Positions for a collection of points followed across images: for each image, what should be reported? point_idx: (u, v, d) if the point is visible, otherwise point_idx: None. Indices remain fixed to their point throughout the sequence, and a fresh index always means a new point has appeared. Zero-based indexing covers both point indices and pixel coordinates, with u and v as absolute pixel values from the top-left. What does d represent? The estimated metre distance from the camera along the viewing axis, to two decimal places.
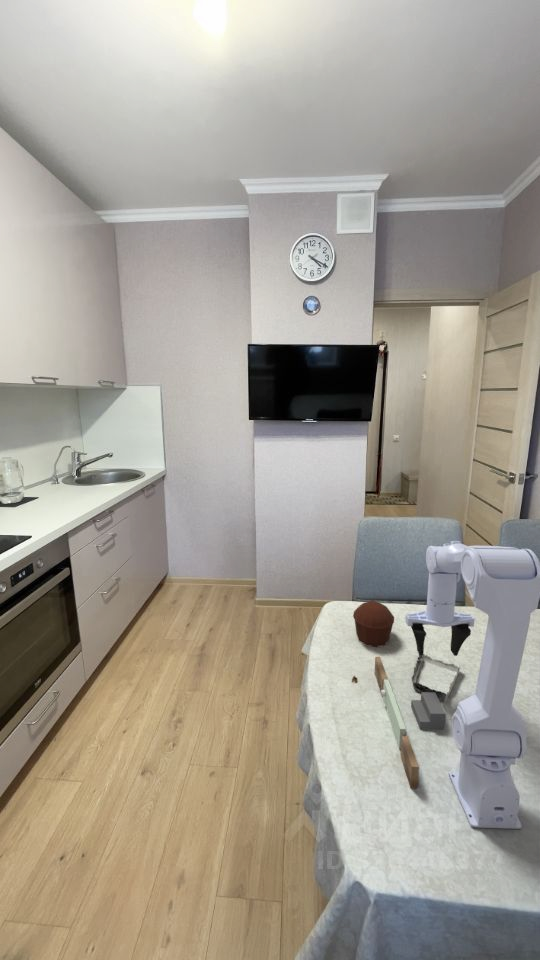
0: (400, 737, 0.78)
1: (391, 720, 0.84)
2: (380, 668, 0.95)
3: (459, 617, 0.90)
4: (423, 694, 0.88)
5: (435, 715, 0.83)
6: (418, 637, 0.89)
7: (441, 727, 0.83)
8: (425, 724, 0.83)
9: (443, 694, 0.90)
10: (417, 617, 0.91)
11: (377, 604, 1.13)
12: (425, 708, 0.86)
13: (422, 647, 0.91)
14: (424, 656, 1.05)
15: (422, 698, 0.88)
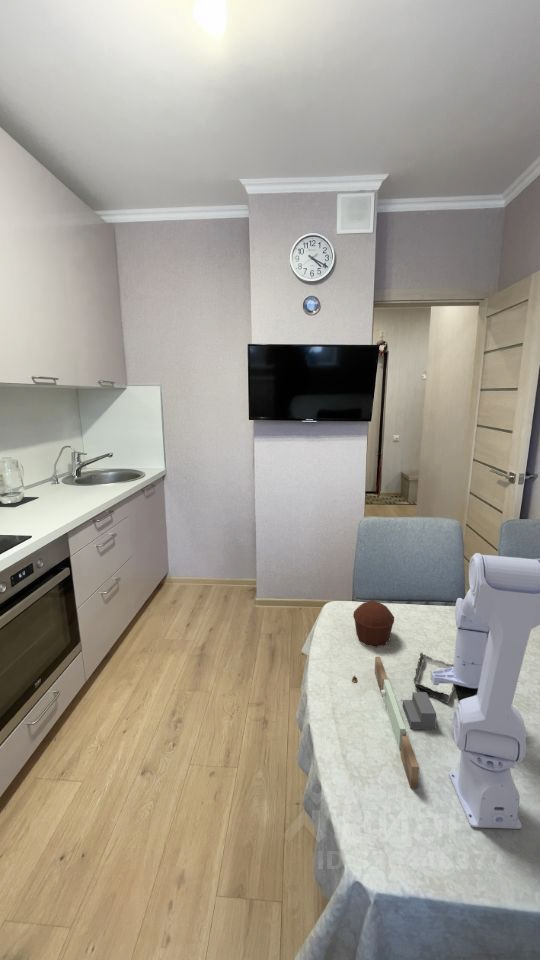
0: (400, 737, 0.78)
1: (391, 720, 0.84)
2: (380, 668, 0.95)
3: None
4: (414, 694, 0.88)
5: (426, 715, 0.83)
6: (462, 698, 0.82)
7: (432, 727, 0.83)
8: (416, 724, 0.83)
9: (446, 695, 0.90)
10: (444, 675, 0.84)
11: (377, 604, 1.13)
12: (416, 708, 0.86)
13: None
14: (425, 657, 1.04)
15: (413, 698, 0.88)
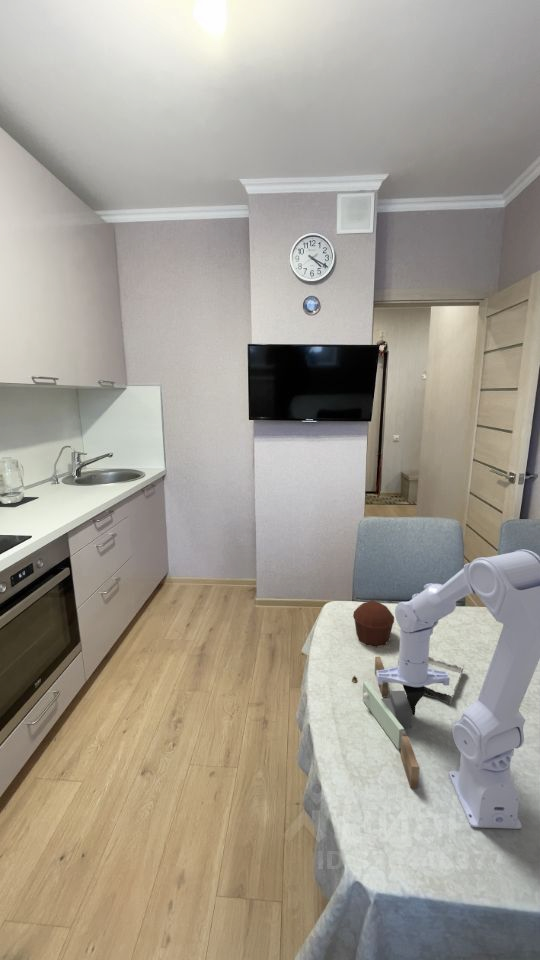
0: (399, 738, 0.78)
1: (381, 722, 0.84)
2: (380, 668, 0.95)
3: (433, 675, 0.84)
4: (392, 692, 0.88)
5: (402, 713, 0.83)
6: (409, 697, 0.83)
7: (409, 725, 0.83)
8: None
9: (448, 696, 0.90)
10: (388, 674, 0.84)
11: (377, 604, 1.13)
12: (393, 706, 0.86)
13: (414, 707, 0.84)
14: None
15: (391, 696, 0.88)
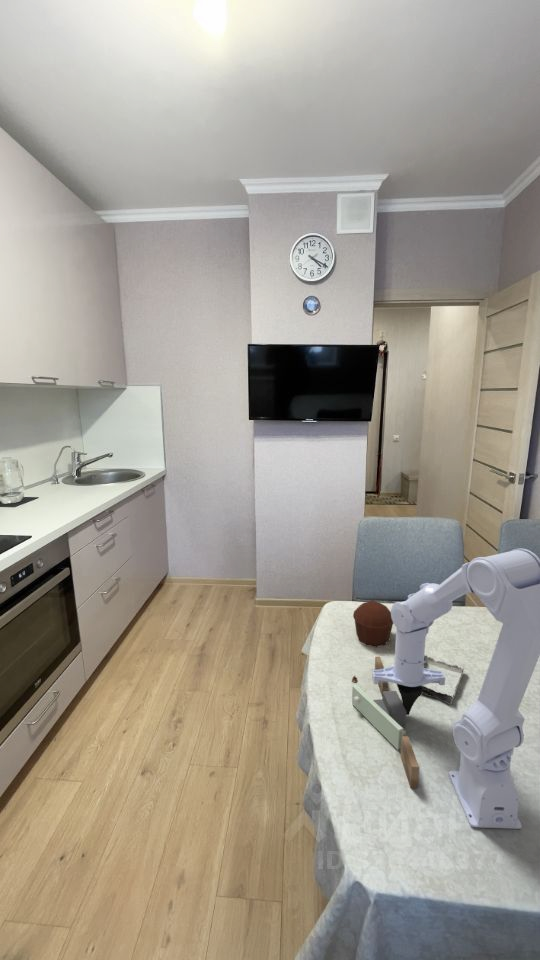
0: (398, 738, 0.78)
1: (376, 724, 0.83)
2: (380, 668, 0.95)
3: (429, 675, 0.84)
4: (384, 693, 0.88)
5: (396, 713, 0.83)
6: (403, 697, 0.83)
7: (403, 726, 0.83)
8: None
9: (449, 697, 0.89)
10: (384, 674, 0.84)
11: (377, 604, 1.13)
12: (387, 707, 0.86)
13: (408, 707, 0.84)
14: (427, 658, 1.04)
15: (384, 697, 0.88)
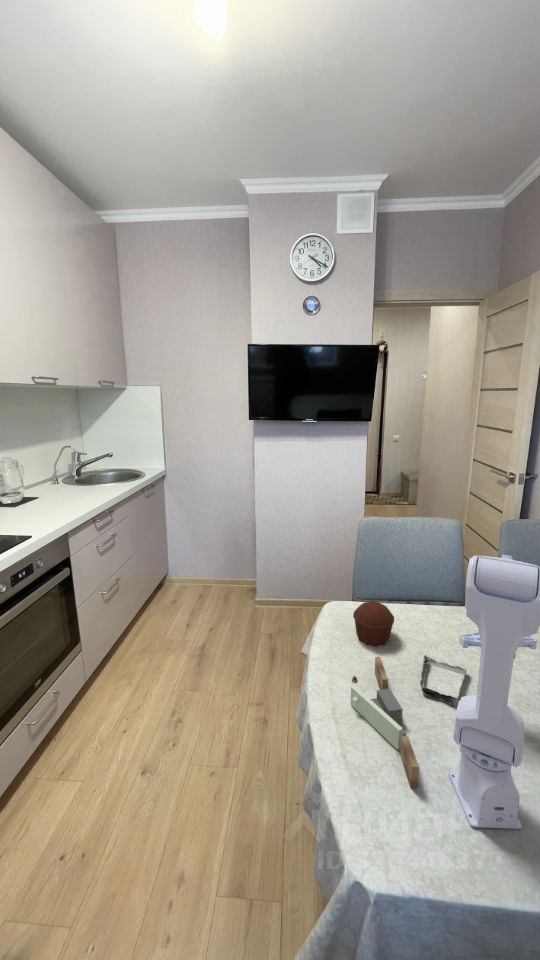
0: (398, 738, 0.78)
1: (375, 725, 0.83)
2: (380, 668, 0.95)
3: None
4: (379, 692, 0.89)
5: (393, 712, 0.84)
6: None
7: (399, 723, 0.84)
8: None
9: (453, 698, 0.89)
10: (473, 638, 0.83)
11: (377, 604, 1.13)
12: (382, 706, 0.86)
13: None
14: (429, 659, 1.03)
15: (378, 696, 0.88)
